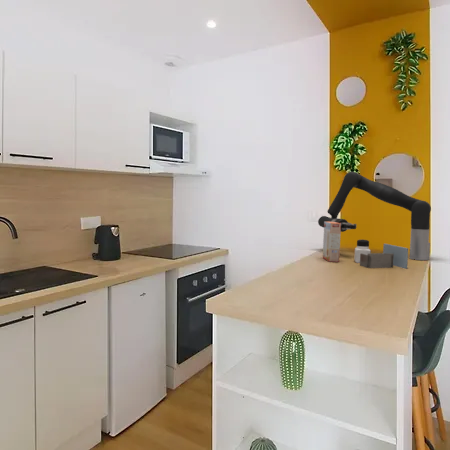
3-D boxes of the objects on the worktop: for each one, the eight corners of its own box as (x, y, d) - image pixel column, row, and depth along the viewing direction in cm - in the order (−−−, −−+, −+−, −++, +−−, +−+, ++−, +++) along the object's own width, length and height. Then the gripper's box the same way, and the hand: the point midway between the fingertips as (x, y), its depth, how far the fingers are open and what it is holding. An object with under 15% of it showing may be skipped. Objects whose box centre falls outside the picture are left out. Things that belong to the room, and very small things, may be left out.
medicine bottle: (370, 263, 198) (371, 240, 197) (356, 262, 199) (357, 240, 199) (368, 261, 205) (369, 239, 204) (354, 260, 206) (355, 238, 206)
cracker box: (339, 262, 200) (341, 222, 199) (328, 262, 200) (330, 222, 199) (333, 258, 214) (334, 221, 213) (322, 257, 214) (323, 221, 213)
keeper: (383, 264, 195) (384, 251, 194) (392, 267, 187) (393, 253, 187) (359, 265, 192) (360, 251, 192) (368, 268, 185) (369, 253, 184)
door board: (384, 262, 203) (385, 243, 202) (407, 268, 185) (408, 248, 184) (382, 262, 202) (383, 243, 202) (405, 268, 185) (406, 248, 184)
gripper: (329, 218, 225) (343, 220, 208) (349, 218, 228) (365, 220, 211) (328, 231, 226) (343, 234, 209) (349, 231, 228) (365, 234, 211)
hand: (354, 227), depth 210 cm, fingers closed
